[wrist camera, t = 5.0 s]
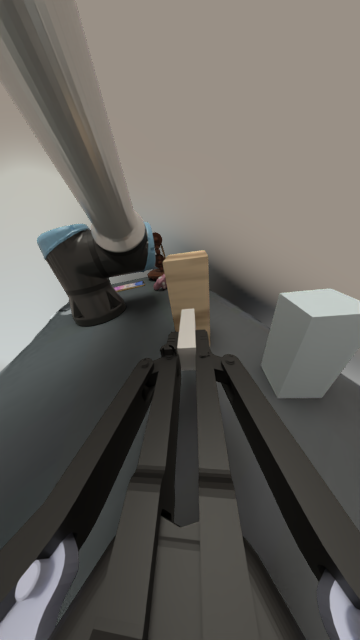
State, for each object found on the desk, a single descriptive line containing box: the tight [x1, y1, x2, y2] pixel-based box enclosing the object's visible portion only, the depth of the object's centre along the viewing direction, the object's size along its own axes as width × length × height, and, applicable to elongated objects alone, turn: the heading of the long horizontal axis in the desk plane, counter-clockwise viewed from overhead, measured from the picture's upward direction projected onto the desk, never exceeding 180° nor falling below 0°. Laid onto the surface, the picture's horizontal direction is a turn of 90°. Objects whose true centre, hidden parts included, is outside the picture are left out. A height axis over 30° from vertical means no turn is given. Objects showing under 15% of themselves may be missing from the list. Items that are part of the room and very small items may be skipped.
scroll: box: [148, 233, 166, 281], centre depth 69 cm, size 15×15×20 cm
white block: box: [261, 289, 360, 398], centre depth 16 cm, size 5×5×12 cm
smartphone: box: [114, 281, 145, 292], centre depth 67 cm, size 8×15×1 cm, turn 109°
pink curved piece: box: [154, 274, 167, 290], centre depth 58 cm, size 10×5×7 cm, turn 137°
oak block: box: [163, 250, 210, 345], centre depth 25 cm, size 6×6×16 cm
